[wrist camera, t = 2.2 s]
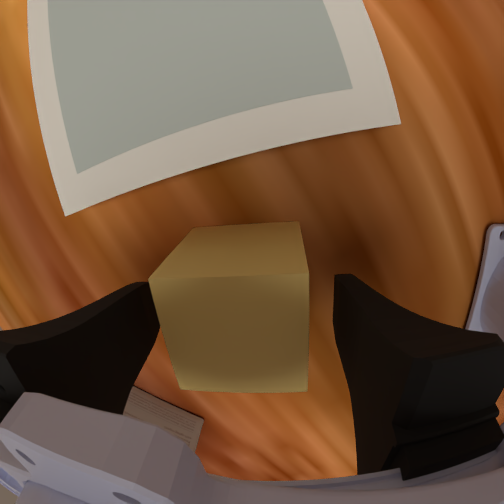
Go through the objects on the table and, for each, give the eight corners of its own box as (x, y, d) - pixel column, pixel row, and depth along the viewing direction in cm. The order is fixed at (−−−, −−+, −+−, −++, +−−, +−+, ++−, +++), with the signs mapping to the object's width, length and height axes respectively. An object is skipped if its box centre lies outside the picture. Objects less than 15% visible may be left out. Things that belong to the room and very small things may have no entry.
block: (298, 220, 13) (309, 273, 8) (301, 312, 14) (307, 391, 10) (194, 227, 13) (147, 278, 9) (208, 315, 15) (180, 389, 10)
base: (287, -103, 6) (287, -124, 4) (383, 125, 11) (401, 124, 9) (48, -10, 9) (27, -18, 7) (88, 205, 13) (64, 216, 11)
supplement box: (108, 369, 18) (20, 520, 6) (207, 418, 18) (163, 585, 7) (98, 416, 20) (38, 531, 9) (176, 454, 21) (139, 577, 9)
